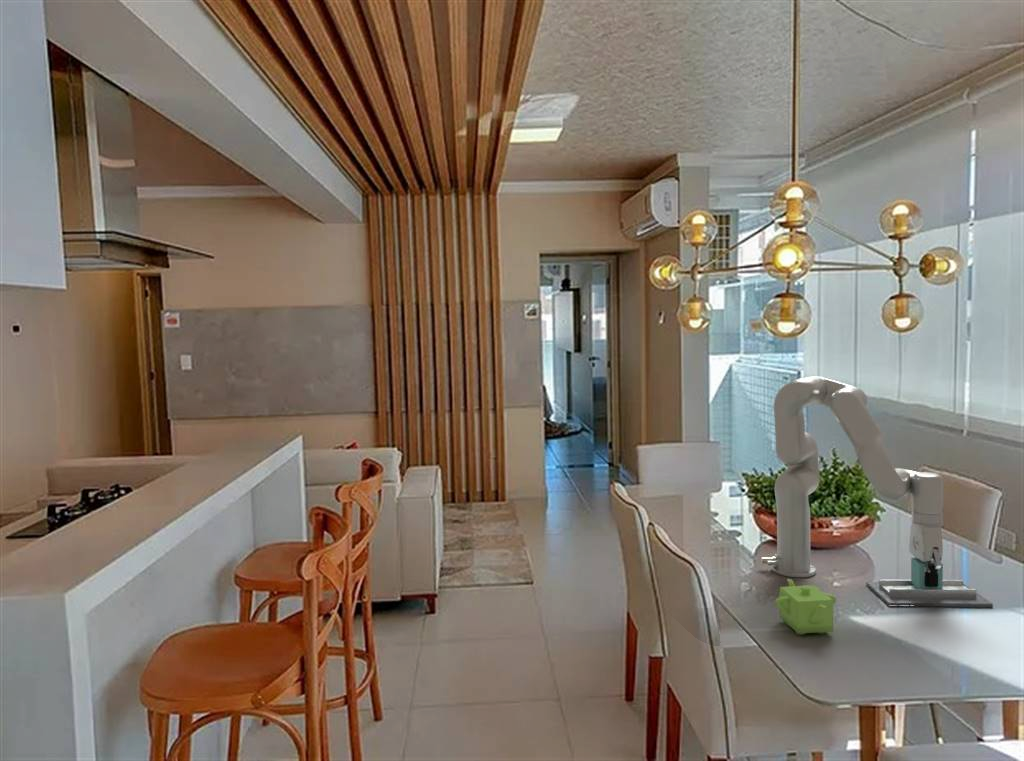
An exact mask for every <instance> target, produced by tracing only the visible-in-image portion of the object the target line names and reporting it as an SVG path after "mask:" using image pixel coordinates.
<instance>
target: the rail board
mask: <svg viewBox="0 0 1024 761" xmlns="http://www.w3.org/2000/svg"><path fill="white" fill-rule="evenodd" d="M878 580H879V581H865V584H866V585H865V586H866V587H868V589H870V590H871V591H872V592H873V593H874V594H875V595H876V596H877V595H878V596H879V597H880V598H881V600H882V602H884V601H885V602H886V603H887V604H888V605H909V606H910V605H914V606H934V607H933V608H936V607H935V606H938V607H937V608H940V607H939V606H942V607H941V608H993V607H994V606H993V605H994V604H993V602H991V601H989V600H988V599H986V598H985V597H984V596H982V595H981V594H979V593H978V592H977V590H978V589H976V588H971V587H970V586H968V585H966V584H965V583H964V580H963V579H943V589H920V588H918V587H916V586H915V585H914V584H913V583H911V579H890V578H889V579H888V578H886V579H883V578H881V579H878ZM878 596H877V597H878ZM879 597H878V598H879ZM880 598H879V599H880ZM885 602H884V603H885ZM886 603H885V604H886ZM887 604H886V605H887ZM888 605H887V606H888Z"/></svg>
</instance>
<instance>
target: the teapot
mask: <svg viewBox="0 0 1024 761" xmlns="http://www.w3.org/2000/svg"><path fill="white" fill-rule="evenodd" d="M786 580H787V583H788V586H780V587H779V597H777V598H776V599H775V601H774V602H775V604H776V606H777V608H779V617H780V619H781V620H783V621H784V622H785V623H786V624H787V626H789V627H790V628H792V629H793V630H794V632H796V634H797V635H800V636H801V635H802V636H803V635H806V634H816V633H817V634H820V635H821V634H826V633H828V632H829V633H830V632H834V606H835V603H836V601H837V597H836V596H835V595H834V594H828V593H825V592H823V591H822V590H820V589H819V588H817V586H814V585H813V584H812V585H811V584H810V585H796V584H795V582H794V581H793V580H792V579H791V578H787V579H786Z"/></svg>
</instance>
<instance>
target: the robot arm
mask: <svg viewBox="0 0 1024 761" xmlns="http://www.w3.org/2000/svg"><path fill="white" fill-rule="evenodd" d="M811 405H812V406H813V405H819V406H823V407H826V408H829V410H830V412H831V413H832V414H833V416H834V418H835V420H837V422H838V424H839V425H840V426H841V429H842V430H843V432H844V433H845V434H846V436H847V438H848V440H849V441H850V443H851V444H852V446H853V447H854V452H855V454H856V457H857V460H858V462H859V465H860V467H861V468H862V471H863V473H864V475H865V477H866V478H867V479H868V481H869V482H870V484H871V486H872V487H873V489H874V491H876V492H877V494H878V495H879V496H880V497H882V498H883V499H884V500H888V501H891V502H892V501H893V502H894V501H898V500H900V499H902V498H904V497H905V496H908V495H910V496H911V509H910V510H911V513H910V514H911V515H910V517H911V518H910V519H911V521H910V522H911V524H910V530H909V542H908V543H909V544H908V546H909V548H908V551H909V553H910V554H911V555H912V556H914V558H918V559H920V560H921V561H923V562H925V563H926V571H927V572H925V586H926V587H938V573H939V569H940V567H941V566H942V564H943V563H942V561H943V556H944V555H943V552H944V550H943V549H944V548H943V546H944V545H943V544H944V543H943V533H942V526H943V525H944V478H943V476H942V475H940V474H939V473H936V472H929V471H920V472H919V471H913V470H909V469H905V468H899V467H897V468H895V467H894V465H893V464H892V463H891V461H890V459H889V457H888V455H887V453H886V449H885V446H884V445H885V444H884V443H885V442H884V434H883V431H882V430H881V428H880V427H879V425H878V423H877V422H876V420H875V419H874V417H873V415H872V414H871V412H870V411H869V409H868V408H867V406H868V398H867V395H866V394H865V392H864V391H863V390H862V389H861V388H859V387H857V386H854V385H852V384H851V385H850V384H847V383H842V382H840V381H836V380H832V379H829V378H825V377H822V376H817V375H811V376H804V377H800V378H797V379H794V380H792V381H789V382H788V383H786V384H784V385H783V386H782V387H781V388H779V390H778V391H777V393H776V395H775V398H774V401H773V413H774V414H773V415H774V436H775V452H776V456H777V460H779V461H780V463H781V464H783V465H787V469H785V470H784V471H782V472H780V474H779V475H778V476H777V478H776V480H775V483H774V496H775V503H776V533H777V534H776V547H777V548H776V549H777V550H776V552H777V553H774V556H771V557H765V556H763V557H760V561H761V564H764V565H767V566H771V569H772V571H773V572H774V573H776V574H778V575H780V576H785V577H789V578H790V577H791V578H809V577H813V576H814V575H815V574H817V569H816V567H815V566H813V565H812V564H811V511H810V510H811V509H810V503H809V495H811V494H812V493H814V492H815V491H816V490H817V489H818V487H819V483H820V468H819V467H820V466H819V453H818V452H819V451H818V450H819V448H818V445H817V442H816V440H815V438H814V437H813V435H812V434H810V433H809V432H807V431H806V428H805V427H806V426H805V425H806V424H805V423H806V422H805V416H804V412H803V409H804V408H806V407H808V406H811ZM930 559H933V560H934V561H929V560H930ZM929 563H934V564H933V565H931V566H930V564H929Z"/></svg>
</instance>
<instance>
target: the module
mask: <svg viewBox="0 0 1024 761" xmlns="http://www.w3.org/2000/svg"><path fill="white" fill-rule="evenodd" d="M910 559H911V560H910V561H911V565H910V566H911V570H910V572H911V573H910V580H911V583H913V584H914V585H915V586H916V587H918V588H920V589H943V580H944V579H943V578H944V572H943V571H944V568H943V567H944V566H943V565H944V564H943V563H942V566H941V567H940V569H939V573H938V587H926V586H925V572H927V571H926V563H925V562H923V561H921V560H920V559H918V558H915V557H911V558H910ZM929 561H934V560H933V559H930V560H929ZM929 564H930V566H931V565H933V564H934V563H929Z"/></svg>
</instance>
